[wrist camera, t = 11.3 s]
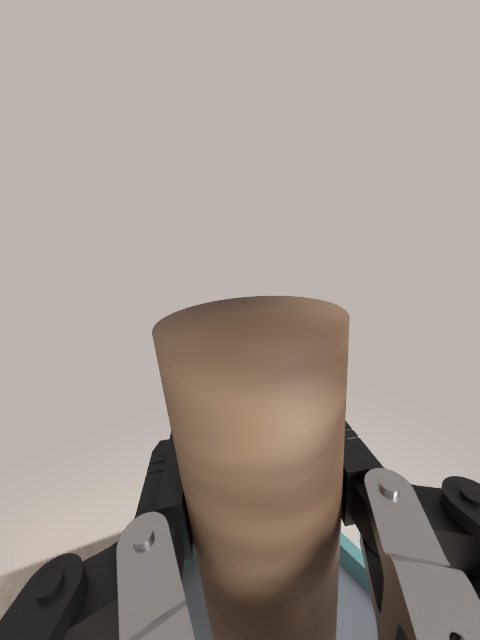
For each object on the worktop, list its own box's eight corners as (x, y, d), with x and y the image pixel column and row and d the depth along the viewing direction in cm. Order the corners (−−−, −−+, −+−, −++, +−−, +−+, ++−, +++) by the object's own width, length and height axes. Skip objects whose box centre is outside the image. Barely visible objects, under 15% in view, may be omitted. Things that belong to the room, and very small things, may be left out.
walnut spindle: (273, 802, 7) (223, 386, 3) (194, 616, 11) (128, 320, 7) (359, 638, 10) (389, 308, 6) (273, 535, 14) (256, 291, 10)
